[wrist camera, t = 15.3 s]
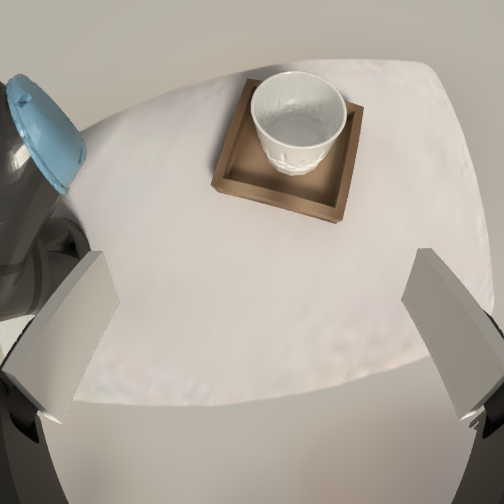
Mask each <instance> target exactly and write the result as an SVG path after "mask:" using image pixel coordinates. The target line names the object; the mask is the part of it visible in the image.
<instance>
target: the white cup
mask: <svg viewBox="0 0 504 504" xmlns="http://www.w3.org/2000/svg"><path fill="white" fill-rule="evenodd" d="M251 114H252V117H253V120H254V124H255V127H256V130H257V134H258V137H259V140H260V143H261V145H262V148H263V150H264V152H265V154H266V157H267V159H268V162H269V163H270V164H271V165H272V166H273V167H274V168H275V169H276V170H277V171H279V172H282V173H284V174H287V175H290V176H295V175H305V174H307V173H308V172H310V171H312V170H314V169H315V168H316V167H317V166H318V164H319V163H320V161H321V160H322V159H323V158H324V157H325V156H326V154H327V153H328V151H329V150H330V148H331V147H332V145H333V144H334V142H335V140H336V139H337V137H338V136H339V134H340V132H341V131H342V129H343V127H344V125H345V122H346V117H347V111H346V105H345V102H344V99H343V97H342V96H341V94H340V93H339V91H338V90H337V89H336V88H335V87H334V86H333V85H332V84H331V83H330V82H328V81H327V80H325V79H324V78H322V77H320V76H318V75H315V74H312V73H309V72H303V71H287V72H282V73H278V74H275V75H273V76H271V77H269V78H267V79H266V80H265V81H263V82H262V83H261V84H260V85H259V86H258V88H257V89H256V90H255V92H254V94H253V97H252V100H251Z"/></svg>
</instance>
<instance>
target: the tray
mask: <svg viewBox="0 0 504 504" xmlns="http://www.w3.org/2000/svg"><path fill="white" fill-rule="evenodd" d="M262 82H263V81H259V80H253V79H247V81H246V84H245V87H244V89H243V92H242V94H241V97H240V100H239V103H238V105H237V108H236V111H235V114H234V116H233V119H232V122H231V125H230V128H229V131H228V133H227V136H226V139H225V142H224V145H223V148H222V151H221V154H220V157H219V160H218V163H217V167H216V170H215V173H214V176H213V179H212V182H211V186H212V187H213V188H214V189H215V190H216V191H217V192H220V193H224V194H229V195H233V196H237V197H241V198H245V199H249V200H252V201H256V202H260V203H264V204H268V205H272V206H275V207H279V208H283V209H286V210H290V211H293V212H297V213H301V214H304V215H308V216H311V217H314V218H318V219H321V220H325V221H328V222H331V223H335V224H336V223H338V222H340V221H342V219H343V215H344V211H345V206H346V202H347V198H348V193H349V188H350V184H351V179H352V174H353V169H354V164H355V158H356V153H357V147H358V142H359V136H360V130H361V123H362V117H363V110H364V107H362V106H359V105H356V104H353V103H350V102H347V101H344V102H345V105H346V111H347V117H346V122H345V125H344V127H343V129H342V131H341V132H340V134H339V136H338V137H337V139H336V140H335V142H334V144H333V145H332V147H331V148H330V150H329V151H328V153H327V154H326V156H325V157H324V158H323V159H322V160H321V161H320V163H319V164H318V166H317V167H316V168H315V169H314V170H312V171H310V172H308V173H307V174H305V175H295V176H290V175H287V174H284V173H282V172H279V171H277V170H276V169H275V168H274V167H273V166H272V165H271V164H270V163H269V162H268V159H267V157H266V154H265V152H264V150H263V148H262V145H261V143H260V140H259V137H258V134H257V130H256V127H255V124H254V120H253V117H252V114H251V100H252V97H253V94H254V92H255V90H256V89H257V88H258V86H259V85H260V84H261V83H262Z"/></svg>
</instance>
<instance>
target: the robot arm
mask: <svg viewBox="0 0 504 504" xmlns="http://www.w3.org/2000/svg"><path fill="white" fill-rule="evenodd" d="M85 158H86V146H85V143H84V140H83V138H82V136H81V135H80V133H79V131H78V130H77V129H76V127H75V126H74V125H73V123H72V122H71V121H70V120H69V118H68V117H67V116H66V115H65V113H64V112H63V111H62V110H61V109H60V108H59V107H58V105H57V104H56V103H55V102H54V101H53V100H52V99H51V98H50V97H49V96H48V95H47V94H46V93H45V92H44V91H43V90H42V89H41V88H40V87H39V86H38V85H37V84H36V83H34V82H32V81H31V80H30V79H29V78H28V77H27V76H25V75H23V74H17V75H15V76H14V77H13V78H11V79H9V81H8V83H7V84H6V85H4V84H3V83H1V82H0V322H1V321H5V320H9V319H13V318H17V317H21V316H25V315H30V314H31V315H36V316H35V317H34V318H33V319H32V320H30V321H29V322H28V324H27V325H26V327H25V328H24V329H23V331H22V334H20V335H19V337H18V338H17V342H16V341H15V343H14V344H13V346H12V347H11V349H10V351H9V352H8V354H7V355H6V357H5V359H4V360H3V362H2V364H1V366H0V504H69V503H68V501H67V499H66V497H65V494H64V492H63V490H62V487H61V485H60V482H59V479H58V477H57V474H56V471H55V469H54V466H53V463H52V460H51V457H50V453H49V450H48V447H47V444H46V440H45V436H44V432H43V429H42V424H41V420H40V418H39V416H38V415H37V411H38V410H40V411H41V412H42V413H43V414H44V415H45V416H46V417H47V418H49V419H51V420H53V421H56V422H58V423H60V424H63V422H64V419H65V417H66V414H67V412H68V409H69V407H70V404H71V402H72V400H73V397H74V395H75V392H76V390H77V388H78V386H79V383H80V381H81V379H82V377H83V374H84V372H85V370H86V368H87V366H88V364H89V362H90V359H91V357H92V355H93V353H94V351H95V349H96V347H97V345H98V343H99V341H100V339H101V337H102V335H103V333H104V331H105V329H106V328H107V326H108V324H109V322H110V320H111V318H112V316H113V314H114V313H115V311H116V309H117V307H118V305H119V304H120V300H119V297H118V295H117V292H116V289H115V286H114V284H113V281H112V278H111V275H110V272H109V269H108V266H107V263H106V260H105V256H104V253H103V251H90V248H89V245H88V242H87V240H86V238H85V236H84V234H83V232H82V231H81V230H80V228H79V227H78V226H77V225H76V224H75V223H73V222H72V221H70V220H67V219H63V218H56V217H52V218H50V216H51V215H52V213H53V211H54V210H55V208H56V207H57V205H58V203H59V202H60V200H61V199H62V197H63V196H64V195H66V194H67V192H68V190H69V186H70V184H71V182H72V181H73V179H74V178H75V176H76V174H77V173H78V171H79V170H80V168H81V167H82V165H83V163H84V161H85ZM401 300H402V302H403V304H404V306H405V307H406V309H407V311H408V313H409V314H410V316H411V318H412V320H413V322H414V323H415V325H416V327H417V329H418V331H419V333H420V335H421V337H422V339H423V340H424V342H425V344H426V346H427V348H428V350H429V352H430V354H431V356H432V358H433V360H434V362H435V365H436V367H437V369H438V371H439V373H440V375H441V377H442V380H443V382H444V384H445V387H446V389H447V391H448V394H449V396H450V398H451V401H452V403H453V406H454V408H455V411H456V414H457V416H458V419H459V421H460V420H462V419H464V418H466V417H468V416H470V415H473V414H474V413H475V412H476V411H477V410H478V409H479V408H480V407H481V406H482V405H484V408H485V410H484V411H483V412H482V413H481V414H480V415H479V416H477V417H476V418H475V419H474V420H473V421H472V422H471V423H470V426H469V427H470V428H471V427H472V426H474V425H475V424H476V423H477V422H478V421H479V423H478V424H477V425H476V426H475V427H474V429H475V430H477V433H476V437H475V440H474V444H473V448H472V451H471V454H470V457H469V461H468V464H467V467H466V469H465V472H464V475H463V477H462V480H461V483H460V485H459V488H458V490H457V492H456V495H455V497H454V499H453V502H452V504H504V336H503V335H504V334H503V333H502V331H501V330H500V329H499V328H498V325H497V324H496V323H495V321H494V319H493V318H492V317H491V316H490V315H489V314H488V313H486V312H485V311H484V310H483V309H482V308H481V307H480V305H479V304H478V303H477V301H476V300H475V299H474V298H473V296H472V295H471V294H470V293H469V291H468V290H467V289H466V288H465V286H464V285H463V284H462V283H461V281H460V280H459V279H458V278H457V277H456V275H455V274H454V273H453V272H452V271H451V270H450V269H449V267H448V266H447V265H446V264H445V263H444V262H443V261H442V260H441V258H440V257H439V256H438V255H437V254H436V253H435V252H434V251H433V250H432V249H431V248H418V250H417V254H416V257H415V260H414V264H413V267H412V270H411V273H410V276H409V279H408V282H407V285H406V288H405V291H404V293H403V296H402V299H401Z"/></svg>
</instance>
